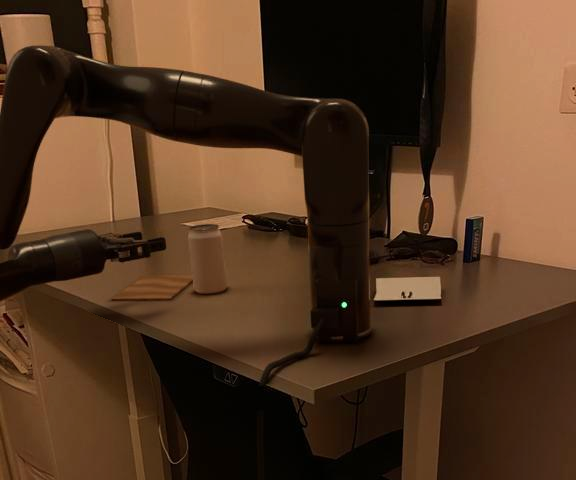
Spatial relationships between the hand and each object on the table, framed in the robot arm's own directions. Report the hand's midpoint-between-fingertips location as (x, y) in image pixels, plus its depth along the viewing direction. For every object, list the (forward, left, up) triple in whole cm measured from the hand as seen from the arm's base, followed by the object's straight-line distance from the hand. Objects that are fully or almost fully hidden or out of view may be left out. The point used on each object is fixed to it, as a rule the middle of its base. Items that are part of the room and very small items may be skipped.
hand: (152, 240), depth 145 cm
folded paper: (+3, -46, -12) cm, 48 cm away
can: (+9, -7, -12) cm, 16 cm away
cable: (+31, -32, -12) cm, 46 cm away
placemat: (+11, +5, -11) cm, 16 cm away
